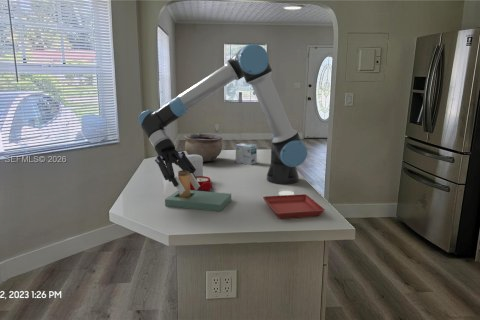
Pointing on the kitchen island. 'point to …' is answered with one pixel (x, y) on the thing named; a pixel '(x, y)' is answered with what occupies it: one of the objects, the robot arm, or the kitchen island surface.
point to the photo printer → (196, 164)
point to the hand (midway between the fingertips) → (190, 190)
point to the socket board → (200, 200)
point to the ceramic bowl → (204, 145)
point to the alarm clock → (202, 183)
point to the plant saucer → (293, 206)
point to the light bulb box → (246, 153)
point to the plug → (184, 182)
